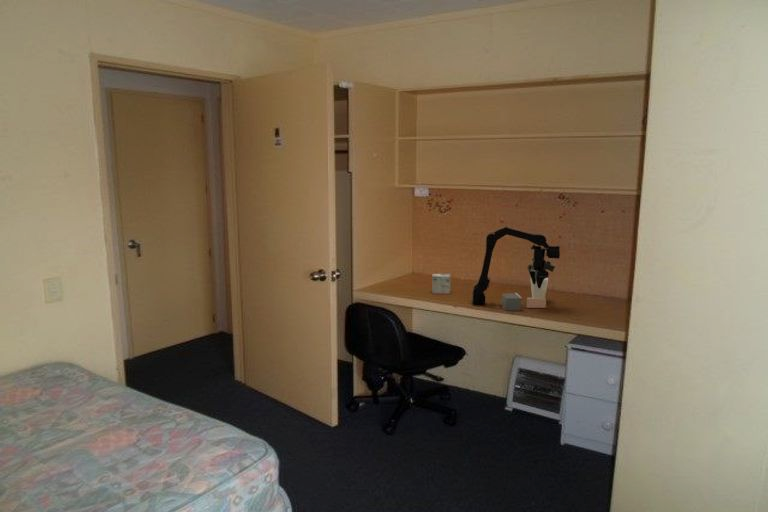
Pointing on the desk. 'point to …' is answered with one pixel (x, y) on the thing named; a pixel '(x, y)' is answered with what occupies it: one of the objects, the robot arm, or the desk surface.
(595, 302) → the desk surface
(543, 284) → the foam cup
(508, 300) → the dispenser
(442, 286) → the light bulb box
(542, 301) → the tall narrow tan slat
